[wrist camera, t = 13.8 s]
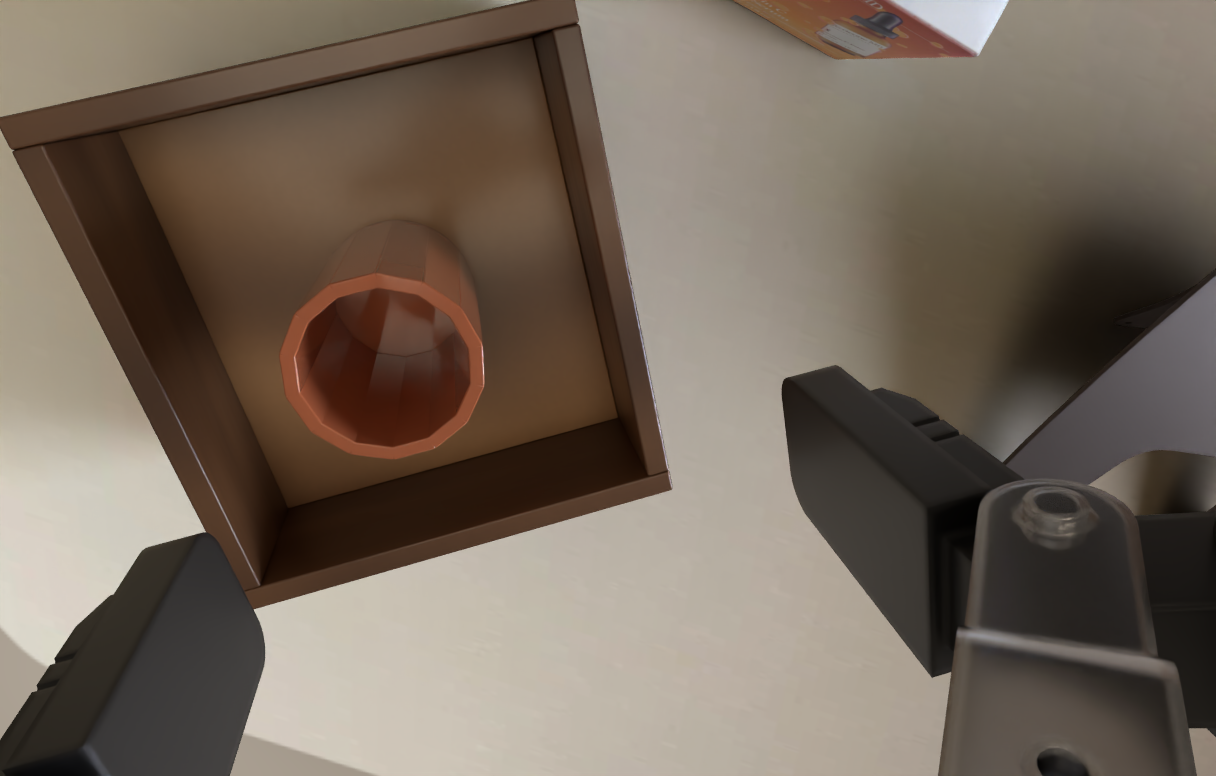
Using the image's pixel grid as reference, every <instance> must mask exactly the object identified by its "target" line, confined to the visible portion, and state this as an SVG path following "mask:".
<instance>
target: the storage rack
mask: <svg viewBox="0 0 1216 776" xmlns="http://www.w3.org/2000/svg"><path fill="white" fill-rule="evenodd" d="M578 21H579V18H578V13H577V8H576V3H575V0H528V1H523V2H519V3H514V4H510V5H505V6H501V7H496V8H492V9H487V10H483V11H478V12H474V13H469V14H465V15H460V16H456V17H451V18H446V19H442V20H437V21H433V22H428V23H424V24H419V25H415V26H410V27H406V28H401V29H397V30H392V31H388V32H383V33H379V34H374V35H370V36H365V37H361V38H356V39H352V40H347V41H343V42H338V43H333V44H329V45H324V46H320V47H315V48H311V49H306V50H302V51H297V52H293V53H288V54H284V55H279V56H275V57H270V58H266V59H261V60H257V61H252V62H248V63H243V64H239V65H234V66H229V67H225V68H220V69H216V70H211V71H207V72H202V73H198V74H193V75H189V76H184V77H180V78H175V79H171V80H166V81H162V82H157V83H153V84H148V85H144V86H139V87H135V88H130V89H125V90H121V91H116V92H112V93H107V94H103V95H98V96H94V97H89V98H85V99H80V100H76V101H71V102H67V103H62V104H58V105H53V106H49V107H44V108H40V109H35V110H31V111H26V112H21V113H17V114H12V115H8V116H3V117H0V129H1V131H2V133H3V135H4V137H5V139H6V141H7V143H8V145H9V147H10V148H11V149H12V150H14V151H13V155H14V157H15V159H16V161H17V163H18V165H19V167H20V169H21V171H22V173H23V175H24V177H25V179H26V180H27V182H28V184H29V186H30V188H31V190H32V192H33V194H34V196H35V198H36V200H37V202H38V204H39V206H40V208H41V210H42V212H43V214H44V216H45V218H46V220H47V222H48V224H49V225H50V227H51V229H52V231H53V233H54V235H55V237H56V239H57V241H58V243H59V245H60V247H61V249H62V251H63V253H64V255H65V257H66V259H67V261H68V263H69V265H70V267H71V269H72V271H73V272H74V274H75V276H76V278H77V280H78V282H79V284H80V286H81V288H82V290H83V292H84V294H85V296H86V298H87V300H88V302H89V304H90V306H91V308H92V310H93V312H94V314H95V316H96V318H97V319H98V321H99V323H100V325H101V327H102V329H103V331H104V333H105V335H106V337H107V339H108V341H109V343H110V345H111V347H112V349H113V351H114V353H115V355H116V357H117V359H118V361H119V363H120V364H121V366H122V368H123V370H124V372H125V374H126V376H127V378H128V380H129V382H130V384H131V386H132V388H133V390H134V392H135V394H136V396H137V398H138V400H139V402H140V404H141V406H142V408H143V410H144V411H145V413H146V415H147V417H148V419H149V421H150V423H151V425H152V427H153V429H154V431H155V433H156V435H157V437H158V439H159V441H160V443H161V445H162V447H163V449H164V451H165V453H166V455H167V457H168V458H169V460H170V462H171V464H172V466H173V468H174V470H175V472H176V474H177V476H178V478H179V480H180V482H181V484H182V486H183V488H184V490H185V492H186V494H187V496H188V498H189V500H190V502H191V503H192V505H193V507H194V509H195V511H196V513H197V515H198V517H199V519H200V521H201V523H202V525H203V527H204V529H205V531H206V533H209V534H211V535H212V536H214V537H215V538H216V539H217V541H218V542H219V543H220V545H221V547H222V549H223V551H224V553H225V555H226V557H227V559H228V561H229V563H230V565H231V567H232V569H233V570H234V572H235V574H236V576H237V578H238V580H239V582H240V584H241V586H242V588H243V590H244V592H245V594H246V596H247V598H248V600H249V602H250V604H251V606H252V608H253V609H256V608H260V607H263V606H267V605H270V604H274V603H277V602H281V601H284V600H288V599H291V598H295V597H298V596H302V595H305V594H309V593H312V592H316V591H319V590H323V589H326V588H330V587H333V586H337V585H340V584H344V583H347V582H351V581H354V580H358V579H361V578H365V577H368V576H372V575H375V574H379V573H382V572H386V571H389V570H393V569H396V568H400V567H403V566H407V565H410V564H414V563H417V562H421V561H424V560H428V559H431V558H435V557H438V556H442V555H445V554H449V553H452V552H456V551H459V550H463V549H466V548H470V547H473V546H477V545H480V544H484V543H487V542H491V541H494V540H498V539H501V538H505V537H508V536H512V535H515V534H519V533H522V532H526V531H529V530H533V529H536V528H540V527H543V526H547V525H550V524H554V523H557V522H561V521H564V520H568V519H571V518H575V517H578V516H582V515H585V514H589V513H592V512H596V511H599V510H603V509H606V508H610V507H613V506H617V505H620V504H624V503H627V502H631V501H634V500H638V499H641V498H645V497H648V496H652V495H655V494H659V493H662V492H666V491H669V490H672V488H673V487H672V482H671V477H670V472H669V470H668V468H669V467H668V462H667V457H666V452H665V447H664V442H663V437H662V432H661V427H660V422H659V417H658V412H657V407H656V402H655V397H654V392H653V387H652V382H651V377H650V372H649V367H648V362H647V357H646V352H645V347H644V342H643V337H642V332H641V328H640V323H639V318H638V313H637V308H636V303H635V298H634V293H633V288H632V283H631V278H630V273H629V268H628V263H627V258H626V253H625V248H624V243H623V238H622V233H621V228H620V223H619V218H618V213H617V208H616V203H615V198H614V193H613V188H612V183H611V178H610V173H609V168H608V163H607V158H606V153H605V148H604V143H603V138H602V133H601V128H600V123H599V118H598V113H597V108H596V103H595V98H594V93H593V88H592V83H591V78H590V73H589V69H588V64H587V59H586V54H585V49H584V44H583V39H582V34H581V29H580V26H579V24H576V23H578ZM386 220H407V221H413V222H417V223H421V224H423V225H426V226H429V227H431V228H433V229H435V230H437V231H438V232H440V233H441V234H443V235H444V236H446V237H447V238H448V239H449V240H450V241H452V242H453V243H454V244H455V246H456V247H457V248H458V249H459V250H460V252H461V253H462V254H463V256H464V257H465V259H466V261H467V263H468V265H469V267H470V270H471V273H472V275H473V276H474V279H475V286H476V294H477V302H478V310H479V318H480V326H481V334H482V342H483V357H484V378H485V385H484V389H483V391H482V393H481V395H480V397H479V399H478V402H477V404H476V406H475V408H474V410H473V412H472V414H471V417H470V419H469V421H468V422H467V423H466V424H465V425H464V426H463V427H461V428H460V429H459V430H458V431H456V432H455V433H454V434H453V435H451V436H450V437H449V438H448V439H447V440H445V441H444V442H443V443H442V444H440V445H439V446H438V447H436V448H434V449H431V450H428V451H424V452H420V453H417V454H413V455H409V456H406V457H402V458H398V459H384V458H376V457H368V456H360V455H352V454H349V453H347V452H345V451H343V450H341V449H340V448H338V447H336V446H334V445H333V444H331V443H329V442H327V441H326V440H324V439H322V438H320V437H319V436H317V435H315V434H313V433H312V431H310V430H309V429H308V427H307V426H306V425H305V423H304V422H303V421H302V419H301V418H300V416H299V415H298V414H297V412H296V411H295V410H294V408H293V407H292V406H291V404H290V403H289V401H288V400H287V399H286V396H285V393H284V387H283V380H282V374H281V367H280V361H279V352H280V349H281V346H282V344H283V341H284V338H285V336H286V333H287V330H288V328H289V325H290V323H291V320H292V317H293V315H294V313H295V312H296V310H297V308H298V307H299V305H300V304H301V302H302V301H303V299H304V297H305V296H306V294H307V293H308V291H309V289H310V288H311V286H312V285H313V283H314V282H315V280H316V278H317V277H318V275H319V274H320V272H321V271H322V269H323V267H324V266H325V264H326V263H327V261H328V259H329V258H330V256H331V255H332V253H333V252H334V250H336V249H337V248H338V247H339V246H340V245H341V244H342V243H343V242H344V240H346V239H347V238H348V237H349V236H350V235H351V234H353V233H354V232H356V231H357V230H359V229H361V228H363V227H365V226H367V225H370V224H373V223H376V222H380V221H386Z"/></svg>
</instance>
